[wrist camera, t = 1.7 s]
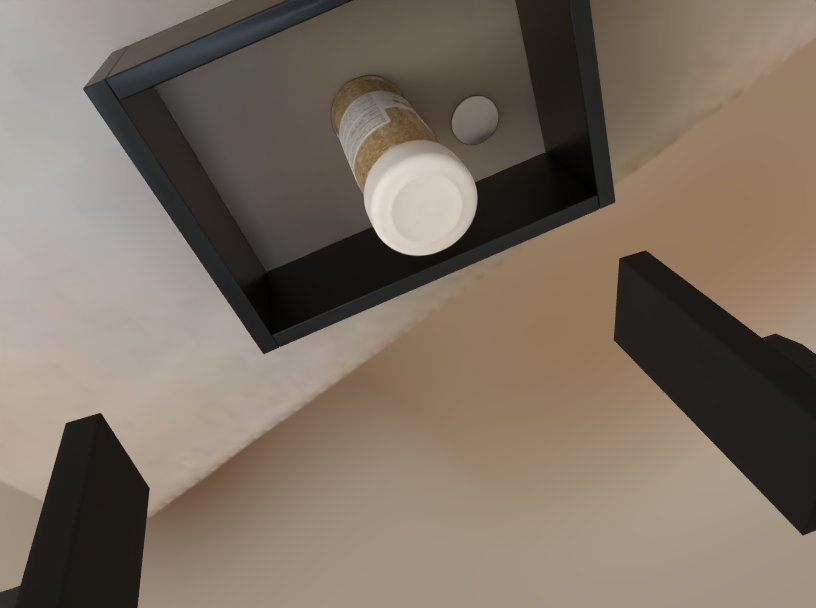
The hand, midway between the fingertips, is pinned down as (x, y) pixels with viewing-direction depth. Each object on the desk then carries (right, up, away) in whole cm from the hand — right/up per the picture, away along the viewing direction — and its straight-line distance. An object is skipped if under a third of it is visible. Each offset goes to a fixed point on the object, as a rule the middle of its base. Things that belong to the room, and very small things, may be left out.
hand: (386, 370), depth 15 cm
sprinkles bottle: (-2, +13, +20) cm, 24 cm away
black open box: (-2, +13, +20) cm, 24 cm away
